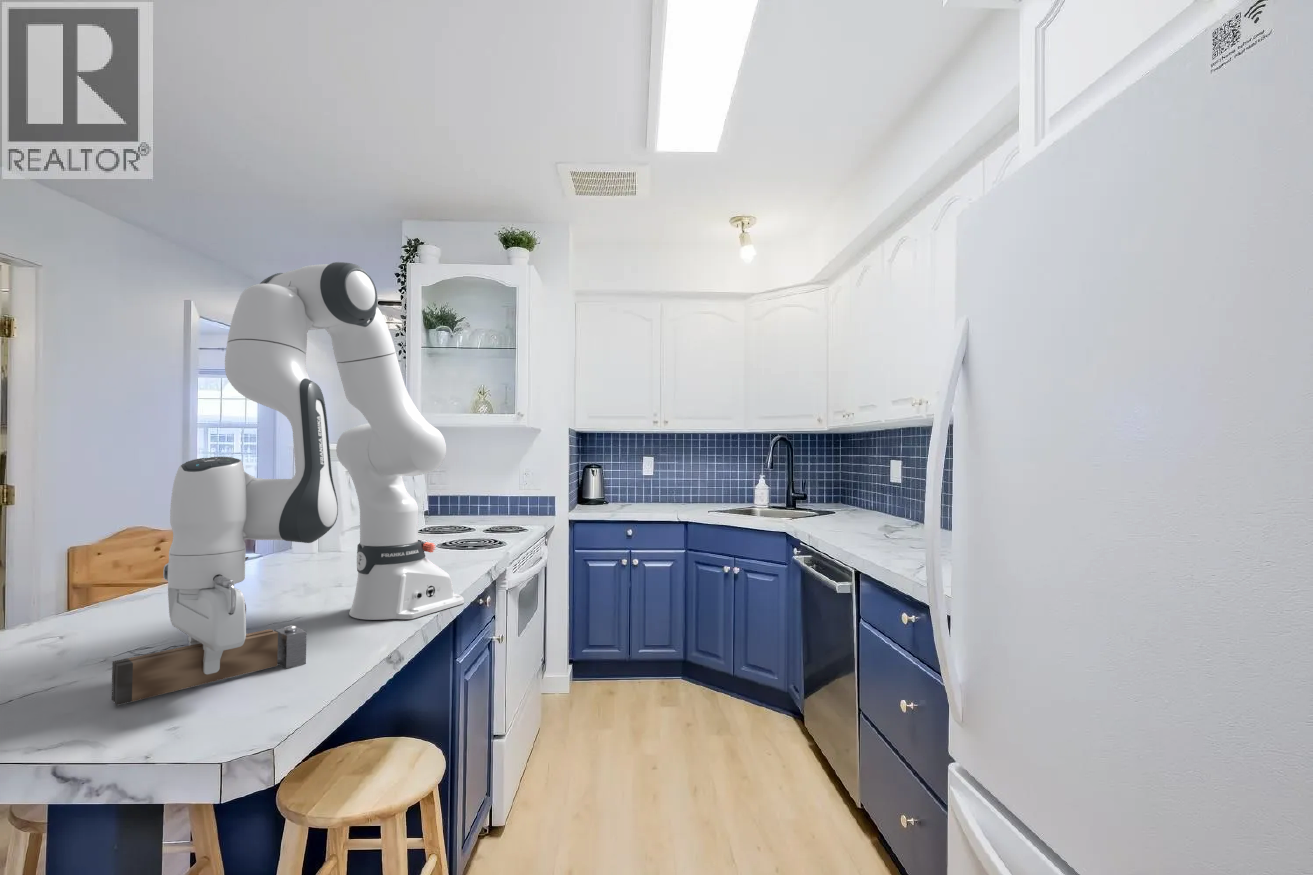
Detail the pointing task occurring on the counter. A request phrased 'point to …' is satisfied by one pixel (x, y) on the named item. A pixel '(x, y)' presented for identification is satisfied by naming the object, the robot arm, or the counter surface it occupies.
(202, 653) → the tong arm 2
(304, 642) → the block
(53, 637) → the counter surface
